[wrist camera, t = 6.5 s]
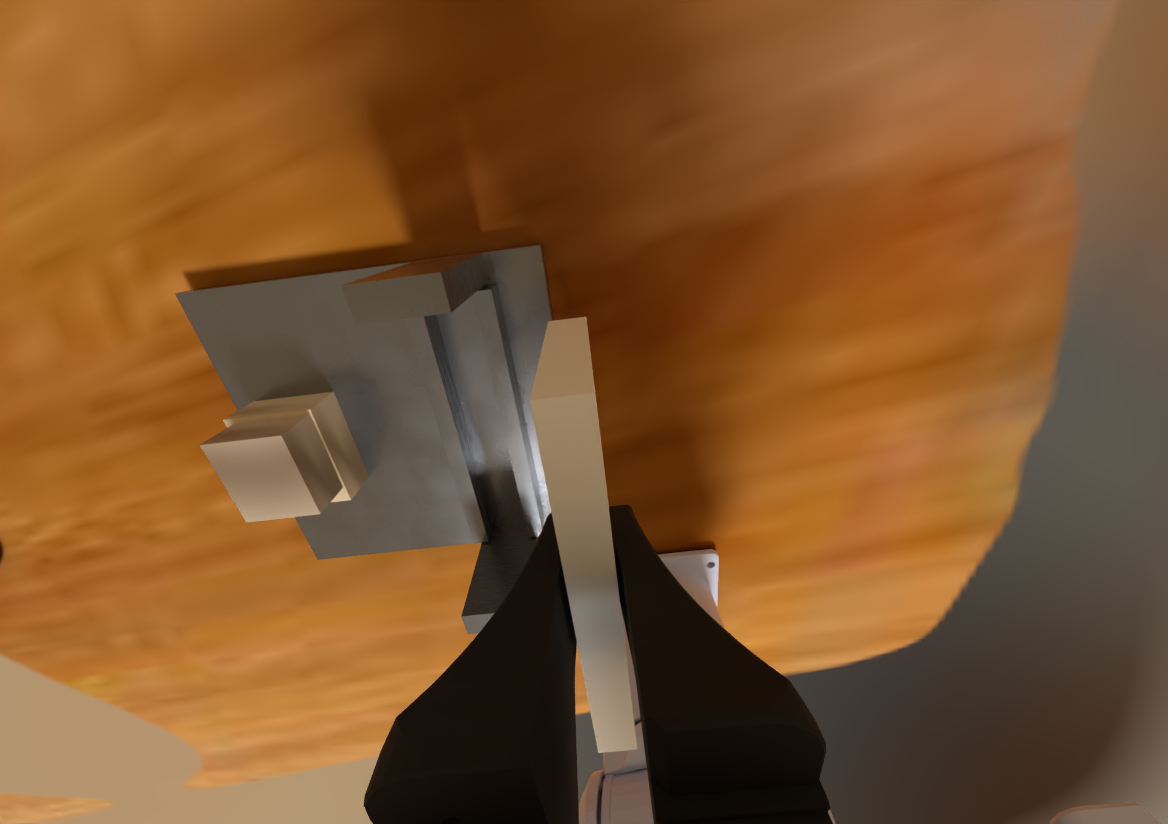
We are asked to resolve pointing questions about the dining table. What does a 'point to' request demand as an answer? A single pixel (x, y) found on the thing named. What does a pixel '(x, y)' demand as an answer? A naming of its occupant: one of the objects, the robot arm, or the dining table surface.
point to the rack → (407, 397)
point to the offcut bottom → (328, 427)
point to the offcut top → (274, 467)
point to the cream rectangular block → (583, 524)
